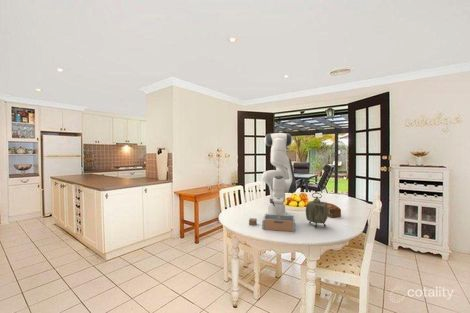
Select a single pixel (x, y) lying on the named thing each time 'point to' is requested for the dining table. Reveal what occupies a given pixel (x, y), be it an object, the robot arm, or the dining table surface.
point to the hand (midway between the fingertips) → (279, 218)
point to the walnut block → (253, 221)
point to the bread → (333, 210)
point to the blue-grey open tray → (275, 217)
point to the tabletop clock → (316, 211)
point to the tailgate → (278, 225)
